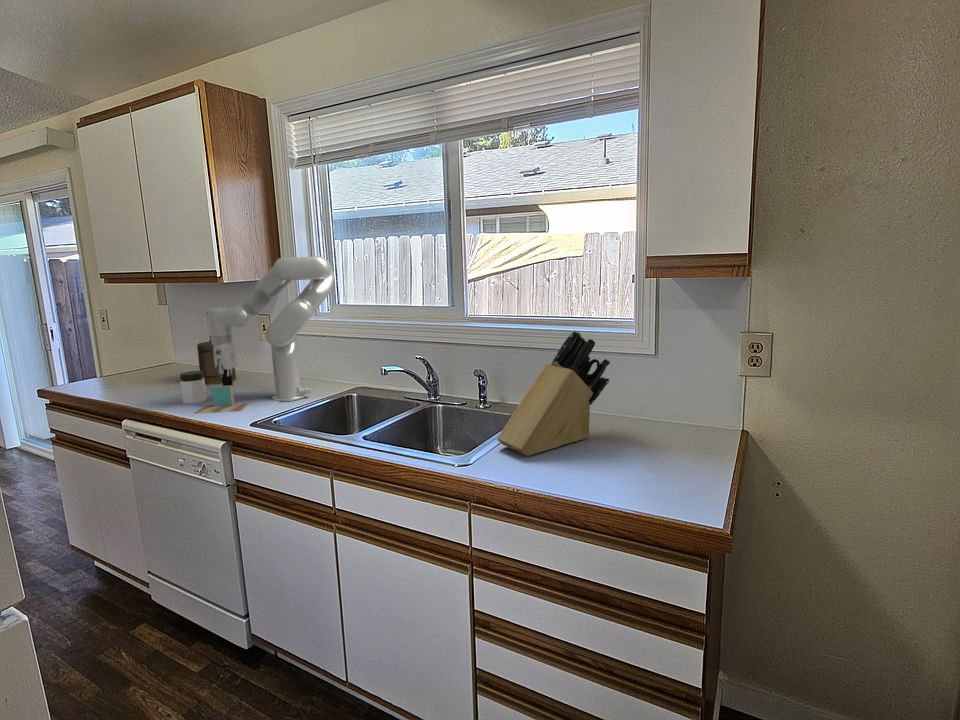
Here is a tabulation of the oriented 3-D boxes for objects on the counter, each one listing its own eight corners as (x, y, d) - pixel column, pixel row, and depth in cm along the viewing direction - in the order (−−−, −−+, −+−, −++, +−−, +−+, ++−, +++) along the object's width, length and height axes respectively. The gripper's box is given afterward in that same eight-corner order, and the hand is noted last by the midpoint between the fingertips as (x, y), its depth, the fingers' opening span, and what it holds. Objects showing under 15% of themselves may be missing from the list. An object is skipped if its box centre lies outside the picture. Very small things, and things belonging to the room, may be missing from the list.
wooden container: (243, 378, 261) (237, 332, 257) (216, 385, 248) (210, 337, 244) (220, 376, 268) (215, 331, 263) (194, 383, 254) (187, 336, 250)
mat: (251, 403, 214) (251, 402, 214) (240, 412, 202) (240, 411, 202) (206, 406, 213) (206, 404, 213) (193, 415, 201) (192, 413, 201)
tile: (234, 404, 212) (232, 385, 211) (232, 405, 210) (230, 386, 209) (215, 405, 212) (213, 386, 210) (213, 406, 210) (211, 387, 208)
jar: (186, 400, 223) (182, 371, 221) (208, 398, 225) (204, 369, 223) (181, 406, 215) (177, 376, 212) (204, 403, 217) (200, 374, 215)
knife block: (612, 432, 166) (613, 330, 160) (521, 460, 146) (519, 345, 140) (585, 423, 175) (585, 327, 169) (496, 449, 155) (492, 340, 149)
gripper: (224, 342, 205) (230, 390, 208) (239, 336, 220) (244, 381, 223) (203, 343, 205) (210, 391, 208) (220, 337, 219) (225, 382, 223)
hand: (227, 386), depth 216 cm, fingers closed
